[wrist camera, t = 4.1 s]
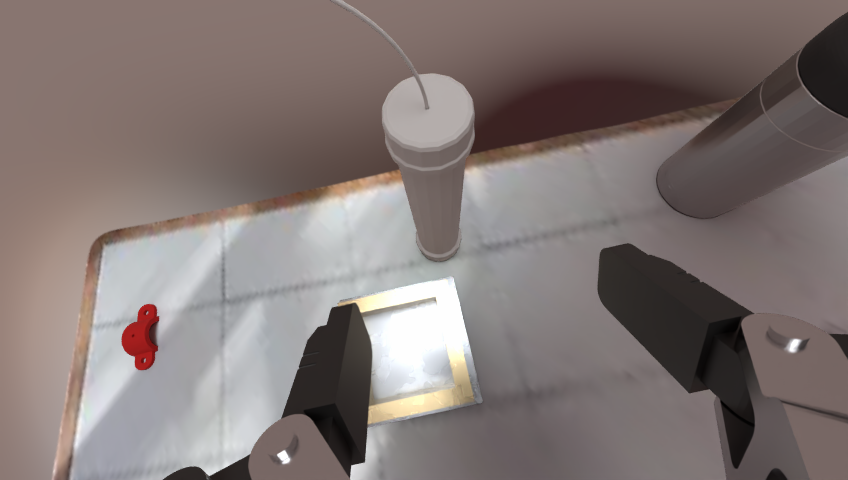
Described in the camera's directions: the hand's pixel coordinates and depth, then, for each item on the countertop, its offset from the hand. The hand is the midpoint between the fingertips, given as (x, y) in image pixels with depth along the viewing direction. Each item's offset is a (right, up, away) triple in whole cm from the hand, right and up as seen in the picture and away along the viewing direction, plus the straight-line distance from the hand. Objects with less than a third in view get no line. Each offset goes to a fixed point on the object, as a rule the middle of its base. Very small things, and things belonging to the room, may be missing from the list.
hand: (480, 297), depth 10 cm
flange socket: (-4, -11, +26) cm, 28 cm away
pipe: (0, +2, +30) cm, 30 cm away
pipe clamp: (-37, -10, +29) cm, 48 cm away
